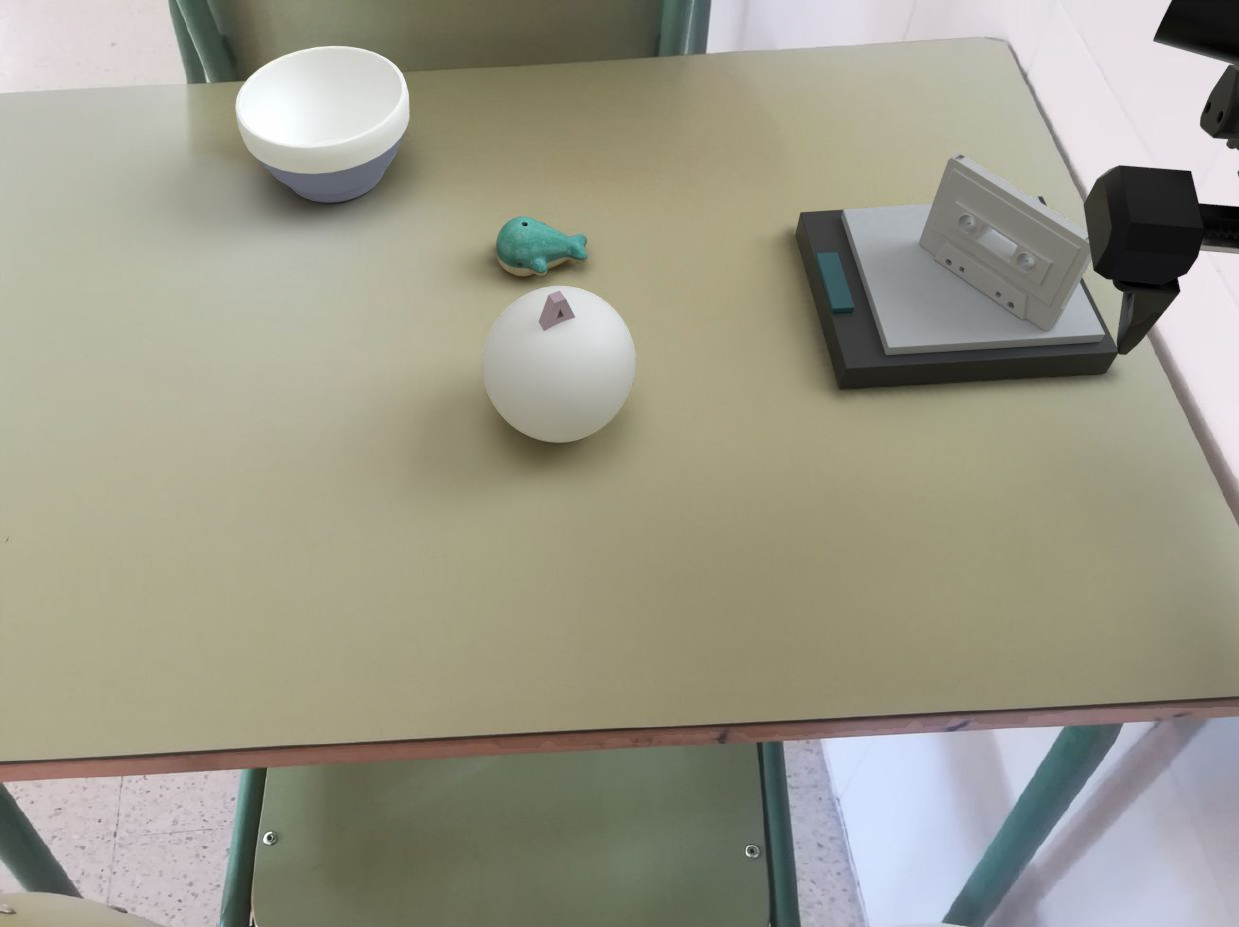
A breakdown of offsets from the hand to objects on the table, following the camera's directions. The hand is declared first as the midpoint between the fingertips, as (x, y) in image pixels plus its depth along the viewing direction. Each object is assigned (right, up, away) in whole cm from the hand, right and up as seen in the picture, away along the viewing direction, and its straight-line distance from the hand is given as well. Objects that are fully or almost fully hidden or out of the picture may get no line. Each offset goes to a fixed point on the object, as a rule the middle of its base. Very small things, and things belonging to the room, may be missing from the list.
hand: (1208, 358), depth 58 cm
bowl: (-53, +23, +35) cm, 68 cm away
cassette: (-4, +9, +18) cm, 21 cm away
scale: (-4, +9, +22) cm, 24 cm away
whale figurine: (-36, +13, +27) cm, 47 cm away
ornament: (-35, -1, +18) cm, 39 cm away
